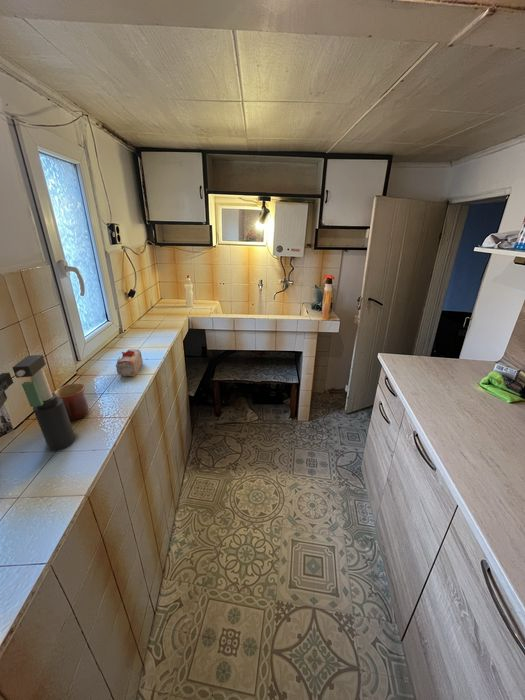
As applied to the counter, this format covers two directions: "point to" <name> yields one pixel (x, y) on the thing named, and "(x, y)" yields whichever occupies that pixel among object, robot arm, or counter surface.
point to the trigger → (32, 393)
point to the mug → (73, 400)
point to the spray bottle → (47, 405)
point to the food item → (129, 363)
